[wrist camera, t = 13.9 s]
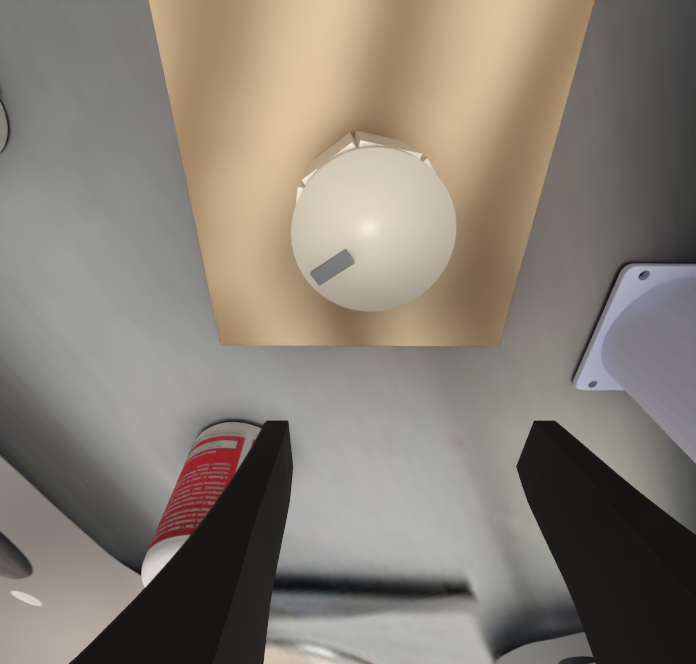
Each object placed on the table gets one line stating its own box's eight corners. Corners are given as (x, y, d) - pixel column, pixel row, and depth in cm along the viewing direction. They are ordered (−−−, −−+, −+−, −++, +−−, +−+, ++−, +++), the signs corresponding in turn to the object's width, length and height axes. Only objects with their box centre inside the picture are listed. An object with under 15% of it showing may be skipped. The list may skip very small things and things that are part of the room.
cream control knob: (386, 104, 14) (406, 105, 10) (446, 218, 16) (485, 262, 12) (279, 185, 16) (254, 219, 11) (349, 279, 18) (351, 339, 13)
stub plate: (586, -25, 13) (604, -34, 12) (492, 336, 21) (498, 346, 20) (153, -34, 13) (139, -44, 12) (225, 335, 21) (220, 345, 20)
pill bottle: (185, 462, 26) (98, 663, 17) (209, 406, 23) (120, 609, 14) (267, 486, 28) (229, 682, 19) (299, 436, 25) (273, 637, 16)
